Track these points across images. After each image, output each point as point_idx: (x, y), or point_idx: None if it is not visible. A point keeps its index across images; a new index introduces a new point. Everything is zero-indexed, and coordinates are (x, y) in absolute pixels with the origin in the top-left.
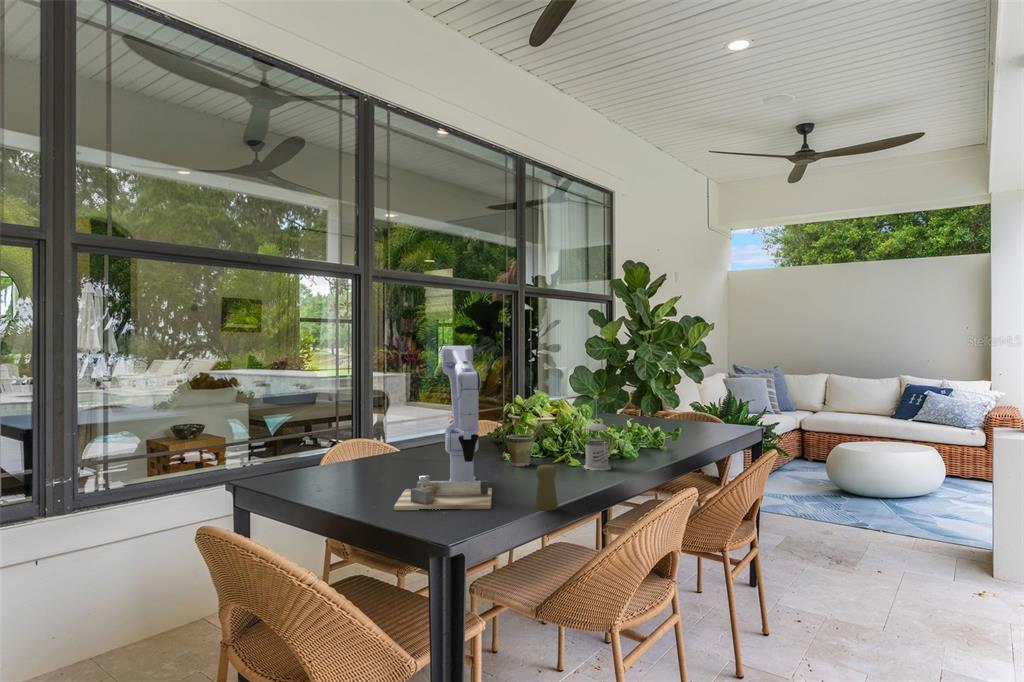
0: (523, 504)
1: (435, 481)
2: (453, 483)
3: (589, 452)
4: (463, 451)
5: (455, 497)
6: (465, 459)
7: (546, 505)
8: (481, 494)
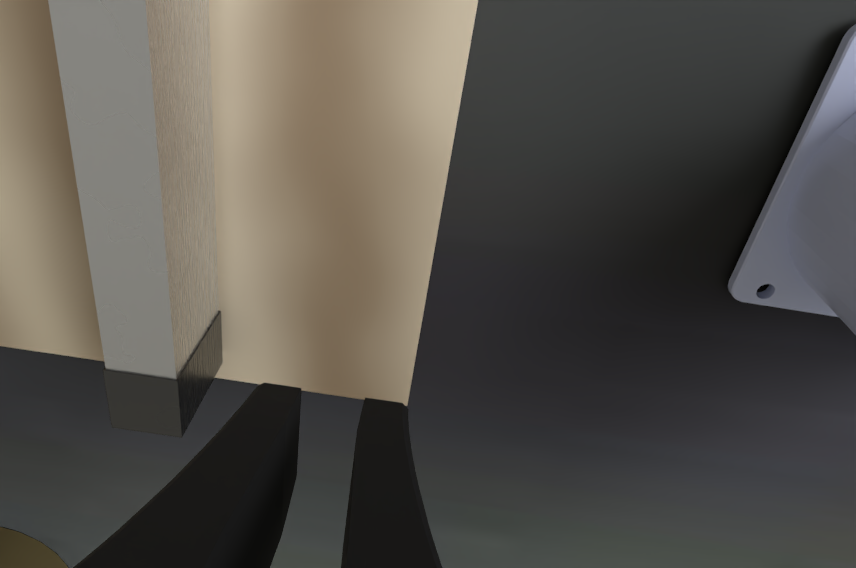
0: (58, 491)
1: None
2: (66, 67)
3: None
4: (129, 522)
5: (46, 53)
6: (242, 415)
7: None
8: None
